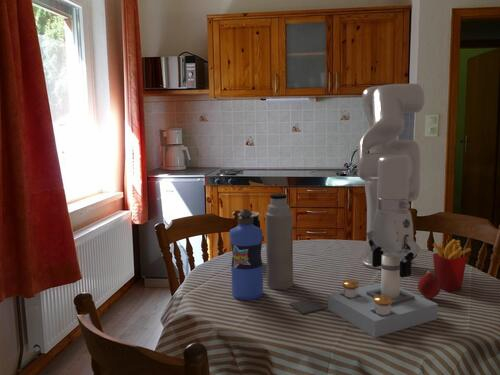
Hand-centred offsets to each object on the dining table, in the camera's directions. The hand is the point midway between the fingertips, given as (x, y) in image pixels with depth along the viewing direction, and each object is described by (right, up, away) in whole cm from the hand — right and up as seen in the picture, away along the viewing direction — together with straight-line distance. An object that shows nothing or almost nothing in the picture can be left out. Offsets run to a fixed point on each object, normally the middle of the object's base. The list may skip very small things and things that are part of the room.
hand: (390, 271), depth 115 cm
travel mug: (-36, -6, +44) cm, 57 cm away
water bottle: (-37, -10, +16) cm, 41 cm away
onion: (+13, -10, +10) cm, 19 cm away
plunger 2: (-4, -12, -7) cm, 14 cm away
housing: (-2, -11, +1) cm, 11 cm away
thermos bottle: (-27, -9, +23) cm, 36 cm away
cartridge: (0, -11, +2) cm, 11 cm away
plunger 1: (-9, -10, +4) cm, 14 cm away
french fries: (+23, -8, +17) cm, 30 cm away
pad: (-21, -11, +6) cm, 24 cm away
